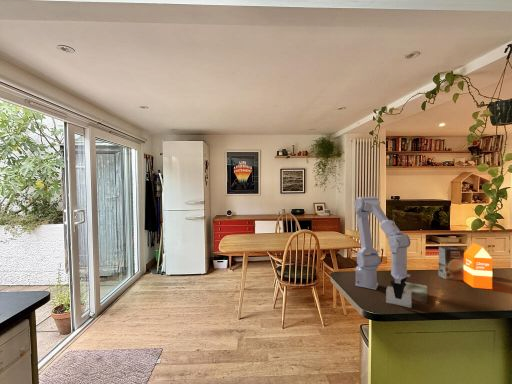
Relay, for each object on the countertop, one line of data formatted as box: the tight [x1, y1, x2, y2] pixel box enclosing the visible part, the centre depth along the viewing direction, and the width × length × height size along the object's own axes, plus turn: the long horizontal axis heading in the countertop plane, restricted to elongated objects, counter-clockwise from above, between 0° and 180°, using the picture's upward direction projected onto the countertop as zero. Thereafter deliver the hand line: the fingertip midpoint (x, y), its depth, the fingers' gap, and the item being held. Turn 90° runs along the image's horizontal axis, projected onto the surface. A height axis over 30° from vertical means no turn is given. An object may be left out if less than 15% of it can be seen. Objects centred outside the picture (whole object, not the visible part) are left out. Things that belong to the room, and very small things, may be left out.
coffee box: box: [437, 246, 465, 281], centre depth 134 cm, size 9×6×16 cm
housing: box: [385, 285, 413, 309], centre depth 105 cm, size 9×5×6 cm, turn 55°
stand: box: [404, 281, 428, 304], centre depth 112 cm, size 12×10×4 cm
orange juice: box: [463, 242, 493, 290], centre depth 124 cm, size 8×9×20 cm
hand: (399, 295), depth 105 cm, fingers open, 7 cm apart
